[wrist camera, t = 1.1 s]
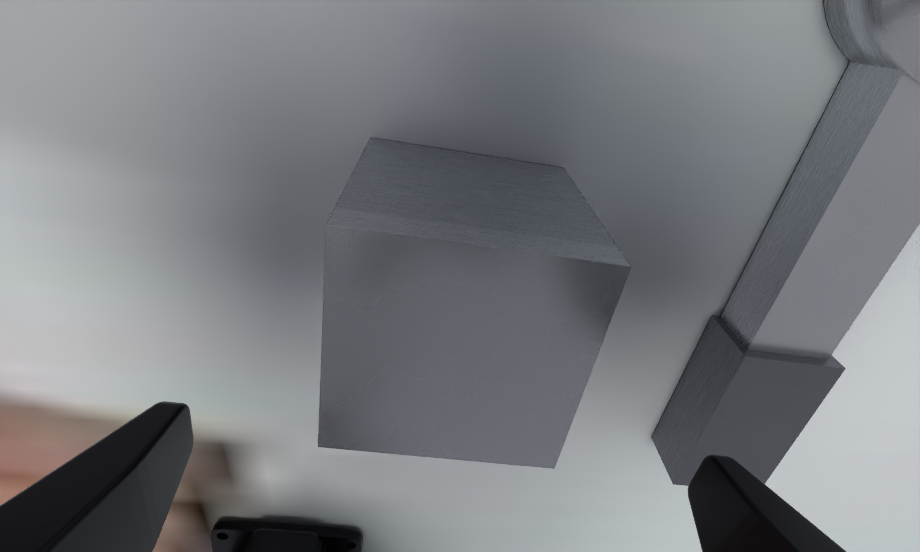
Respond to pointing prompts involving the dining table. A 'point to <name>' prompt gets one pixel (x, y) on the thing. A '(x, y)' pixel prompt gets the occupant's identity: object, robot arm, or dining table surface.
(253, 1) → the dining table surface
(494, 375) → the gray block
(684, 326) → the dining table surface
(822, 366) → the gray handled tool
